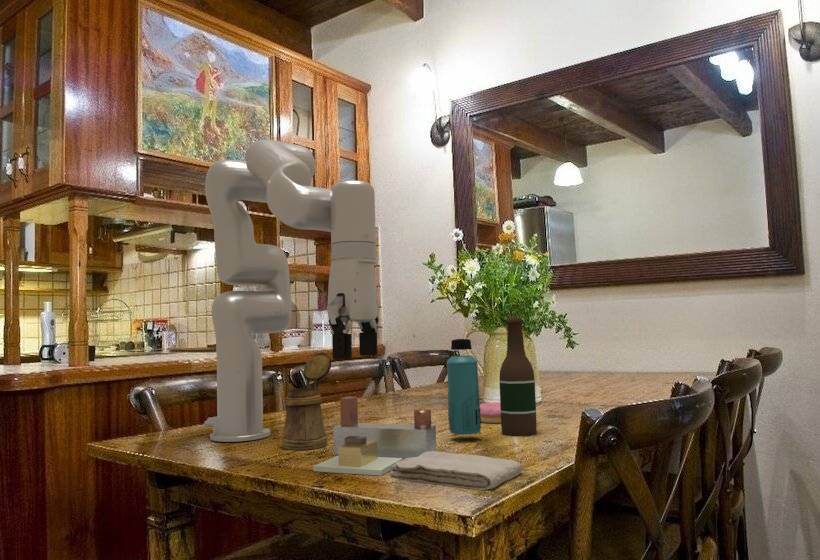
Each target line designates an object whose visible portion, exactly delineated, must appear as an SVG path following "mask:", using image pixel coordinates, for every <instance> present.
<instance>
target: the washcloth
mask: <svg viewBox="0 0 820 560" xmlns="http://www.w3.org/2000/svg"><path fill="white" fill-rule="evenodd" d="M391 469H392V470H390V471H389V475H390V476H392V477H394V478H397V479H399V480H407V481H410V482H413V481H414V482H420V483H425V484H426V483H427V484H434V485H442V486H450V487H458V488H463V489H464V488H465V489H472V490H479V491H486V490H487V491H489V490H493V489H495V488H497V487H499V486H500V485H501V484H503V483H504V482H507V481H510V480H513V479H514V478H516V477H518V476H519V475H520V474H522V471H523V467H522V464H521V463H520V462H518V461H516V460H513V459H512V460H511V459H506V458H494V457H490V456H486V455H475V454H464V453H453V452H452V453H451V452H450V453H449V452H445V451H437V450H436V451H428V452H425V453H423V454H421V455H420V456H418V457H411V458H403V460H401V461H399V462H396V464H394V465H391Z"/></svg>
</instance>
